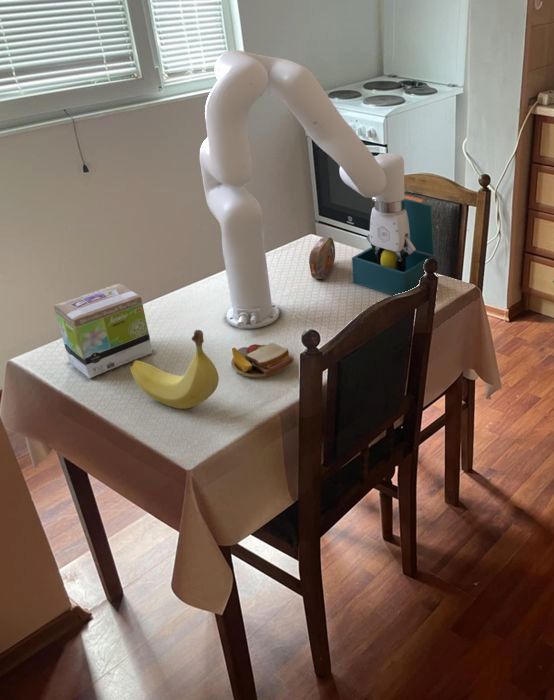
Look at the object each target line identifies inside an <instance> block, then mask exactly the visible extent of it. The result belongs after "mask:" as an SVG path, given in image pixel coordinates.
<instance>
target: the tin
mask: <svg viewBox="0 0 554 700" xmlns="http://www.w3.org/2000/svg"><path fill="white" fill-rule="evenodd" d="M335 260H336V247H335V241H334V239H333V238H332V237H321V238H320V239H319V240H318V241H317V243H315V245H314V247H312V249H311V251H310V253H309V257H308V264H309V269H310V270H309V271H310V275H311V277H312V279H318V280H324V279H325V278H326V277H327V275H328V274H329V273H330V271H331V269H332V268H333V267H334V265H335Z"/></svg>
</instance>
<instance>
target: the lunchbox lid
mask: <svg viewBox="0 0 554 700" xmlns="http://www.w3.org/2000/svg"><path fill="white" fill-rule="evenodd" d="M405 210H406V211H407V215H408V221H409V230H410V241H411V242H412V244H413V246H414V247H415V249H416V251H418V252H422V253H425V254H428V255H432V256H434V255H435V254H436V251H435V249H436V248H435V238H434V237H435V233H434V231H435V230H434V216H433V204H430V203H426V200H425V199H422V198H418V197H414V196H411V195H406V194H405Z"/></svg>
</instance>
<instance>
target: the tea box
mask: <svg viewBox="0 0 554 700" xmlns="http://www.w3.org/2000/svg"><path fill="white" fill-rule="evenodd" d="M53 307H54V312H55V316H56V319H57V323H58V326H59V330H60V334H61V337H62V341H63V345H64V348H65V352H66V355H67V359H68V362H69V363H70V364H71V365H72V366H73V367H75V368H76V369H77V370H79V371H80V372H81V373H82V374H83V375H84V376H86V377H87V378H88V379H92V378H94V377H96V376H98V375H101V374H104V373H105V372H108V371H110V370H113V369H115V368H118V367H120V366H123V365H125V364H127V363H131V362H133V361H135V360H139V359H140V358H143V357H146V356H148V355H151V354H152V353H153V349H152V342H151V338H150V333H149V328H148V323H147V318H146V313H145V309H144V304H143V299H142V296H140V294H137V293H136V292H134V291H132V289H129V288H128V287H126V286H125V285H124V284H122V283H120V282H118V283H115V284H112V285H109V286H107V287H103V288H101V289H97V290H94V291H91V292H89V293H85V294H82V295H80V296H77V297H73V298H70V299H68V300H64V301H61V302H59V303H56V304H53Z"/></svg>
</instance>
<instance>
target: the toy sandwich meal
mask: <svg viewBox="0 0 554 700" xmlns="http://www.w3.org/2000/svg"><path fill="white" fill-rule="evenodd" d="M231 351H232V356H233V357H232V359H231V362H230V365H231V368H232V369H233V371H235V372H236V373H237V374H240V375H242V376H243V377H247V378H252V379H256V378H257V379H258V378H259V379H260V378H267V377H270V376H273V375H275V374H277V373H279V372H280V371H282V370H284V369H285V368H287V367H288V366H290V365H292V363H294V358H293V356H290V352H289V351H290V350H289V348H287V347H284V346H280V345H278V344H276V343H274V342H271V343H268V344H258V343H257V344H256V343H255V344H251V345H249V346H248V347H247V346H242V347H239V348H238V349H237V348H235V347H232V348H231Z"/></svg>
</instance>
